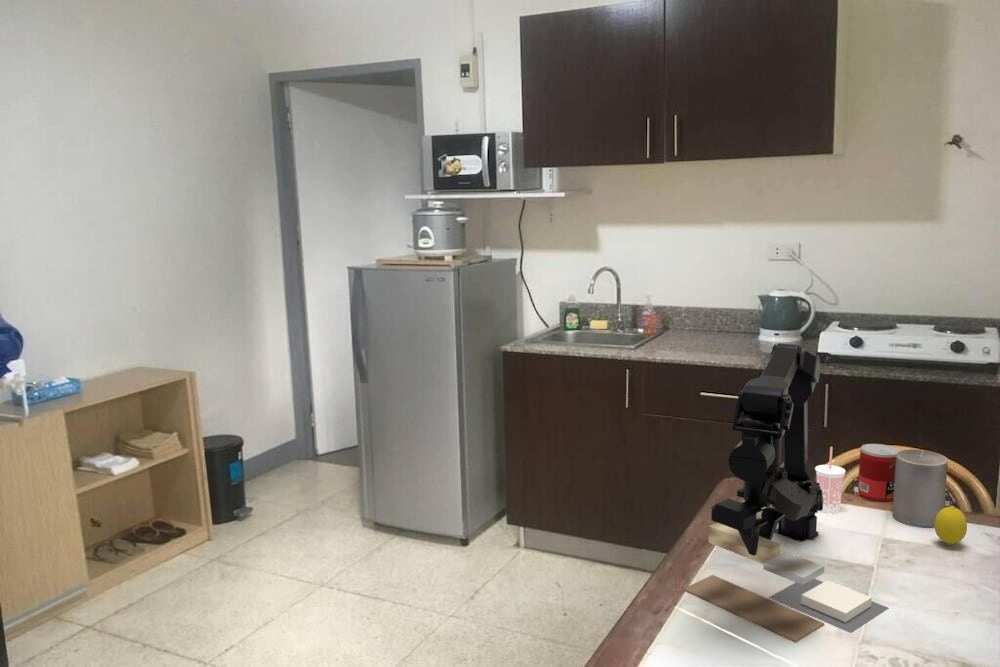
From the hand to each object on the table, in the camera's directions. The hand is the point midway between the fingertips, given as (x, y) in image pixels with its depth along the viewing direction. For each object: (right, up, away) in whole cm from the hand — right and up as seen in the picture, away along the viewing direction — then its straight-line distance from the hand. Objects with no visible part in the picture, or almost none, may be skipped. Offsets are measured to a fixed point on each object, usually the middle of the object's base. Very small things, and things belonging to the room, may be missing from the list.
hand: (758, 551), depth 139 cm
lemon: (+45, -5, +25) cm, 52 cm away
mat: (+13, -10, +4) cm, 17 cm away
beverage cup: (+29, -2, +44) cm, 53 cm away
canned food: (+42, -1, +51) cm, 66 cm away
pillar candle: (+45, -3, +38) cm, 59 cm away
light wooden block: (0, -1, 0) cm, 1 cm away
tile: (+11, -8, +5) cm, 15 cm away
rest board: (0, -10, +3) cm, 11 cm away
